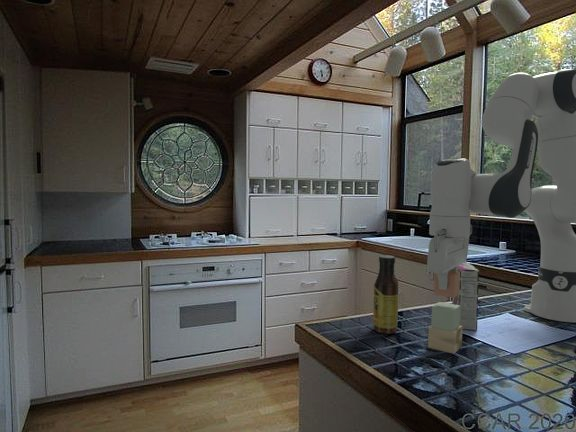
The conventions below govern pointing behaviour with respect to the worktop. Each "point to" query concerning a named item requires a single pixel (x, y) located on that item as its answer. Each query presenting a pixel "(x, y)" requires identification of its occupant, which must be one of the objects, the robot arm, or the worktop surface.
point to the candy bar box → (468, 296)
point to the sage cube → (445, 316)
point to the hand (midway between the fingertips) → (447, 286)
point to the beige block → (445, 339)
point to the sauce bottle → (386, 297)
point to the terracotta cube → (452, 285)
